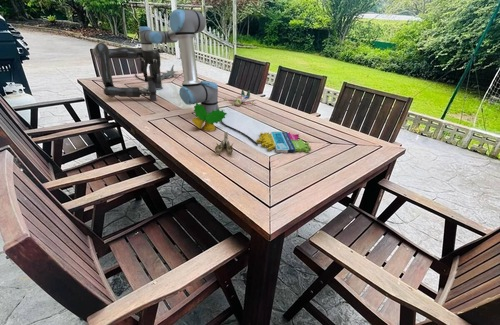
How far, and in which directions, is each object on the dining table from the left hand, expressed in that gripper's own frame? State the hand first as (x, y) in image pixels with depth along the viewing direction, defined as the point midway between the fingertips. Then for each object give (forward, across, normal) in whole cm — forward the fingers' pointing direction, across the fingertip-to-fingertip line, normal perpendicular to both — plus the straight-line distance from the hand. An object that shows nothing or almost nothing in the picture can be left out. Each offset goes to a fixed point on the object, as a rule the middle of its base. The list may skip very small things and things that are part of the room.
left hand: (155, 92), depth 206 cm
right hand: (-3, 0, -8) cm, 8 cm away
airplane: (+6, +85, +6) cm, 86 cm away
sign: (+75, -88, +6) cm, 116 cm away
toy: (+68, -5, +6) cm, 69 cm away
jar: (-3, 0, +6) cm, 7 cm away
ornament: (+36, -63, +6) cm, 73 cm away
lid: (-3, 0, -12) cm, 12 cm away
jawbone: (+40, -95, +6) cm, 104 cm away
